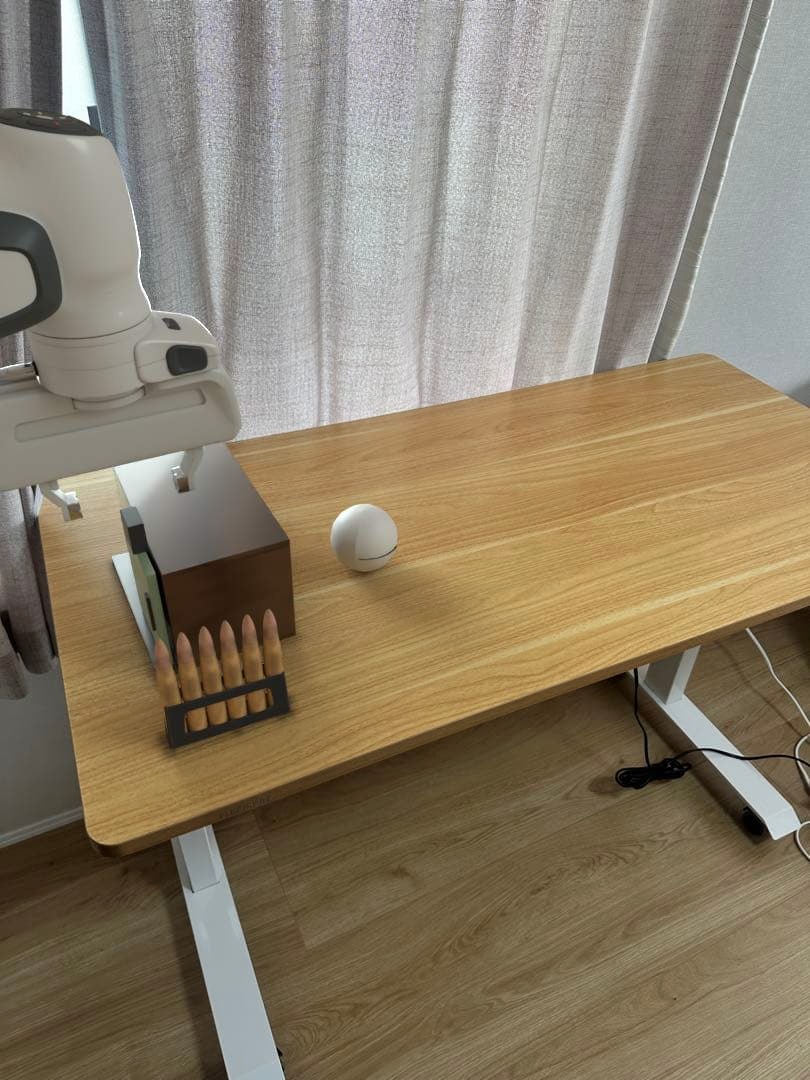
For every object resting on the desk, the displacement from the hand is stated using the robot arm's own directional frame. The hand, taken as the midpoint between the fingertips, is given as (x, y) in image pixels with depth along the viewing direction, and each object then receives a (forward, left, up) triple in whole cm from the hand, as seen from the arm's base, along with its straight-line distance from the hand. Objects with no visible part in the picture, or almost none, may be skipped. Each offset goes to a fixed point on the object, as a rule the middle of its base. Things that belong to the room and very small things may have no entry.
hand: (130, 502), depth 69 cm
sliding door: (0, 0, -15) cm, 15 cm away
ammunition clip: (+3, -13, -17) cm, 21 cm away
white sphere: (+24, +2, -17) cm, 30 cm away
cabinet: (+5, +5, -16) cm, 18 cm away
